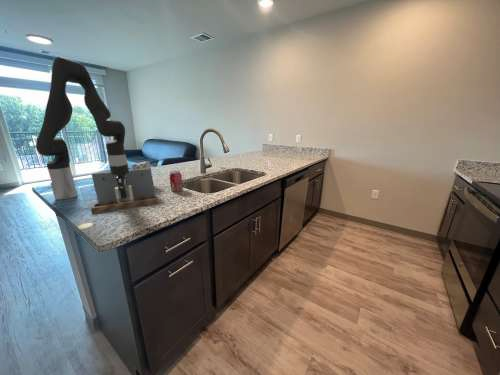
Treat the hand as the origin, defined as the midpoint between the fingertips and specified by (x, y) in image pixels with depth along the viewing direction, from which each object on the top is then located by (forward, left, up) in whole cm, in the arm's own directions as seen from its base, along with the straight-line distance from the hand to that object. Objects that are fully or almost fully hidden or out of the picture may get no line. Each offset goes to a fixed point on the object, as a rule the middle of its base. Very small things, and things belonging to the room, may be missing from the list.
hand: (124, 195), depth 104 cm
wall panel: (0, +11, -6) cm, 12 cm away
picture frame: (0, 0, -6) cm, 6 cm away
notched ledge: (0, 0, -6) cm, 6 cm away
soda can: (+27, +14, -6) cm, 31 cm away
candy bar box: (+9, +30, -6) cm, 32 cm away
